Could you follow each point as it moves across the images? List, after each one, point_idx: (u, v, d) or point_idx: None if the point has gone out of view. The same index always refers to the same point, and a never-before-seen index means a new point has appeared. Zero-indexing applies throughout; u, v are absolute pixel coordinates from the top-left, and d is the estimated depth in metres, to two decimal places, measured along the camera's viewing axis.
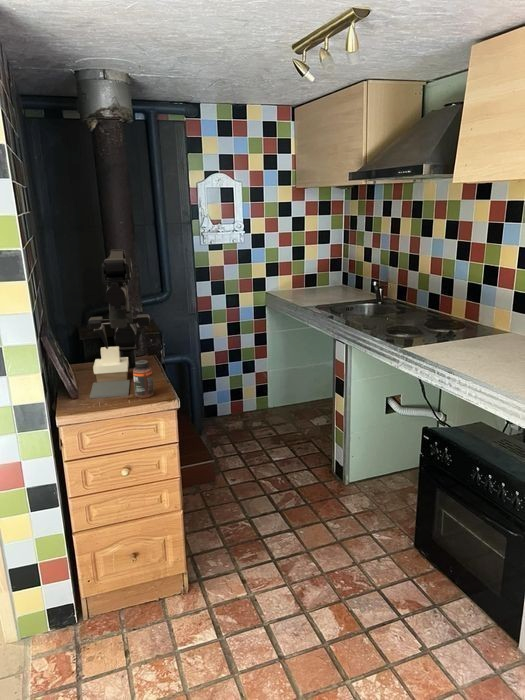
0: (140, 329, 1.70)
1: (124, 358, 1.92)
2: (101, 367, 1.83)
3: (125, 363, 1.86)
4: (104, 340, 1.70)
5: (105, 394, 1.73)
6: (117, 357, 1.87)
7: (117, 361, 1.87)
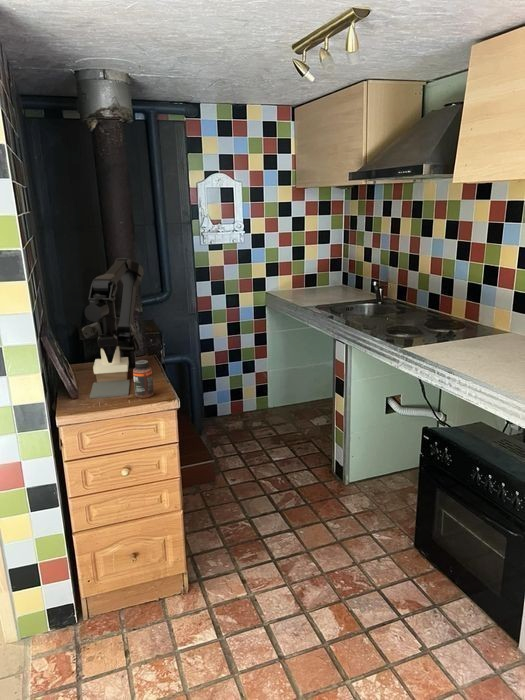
0: None
1: (124, 358, 1.92)
2: (101, 367, 1.83)
3: (125, 363, 1.86)
4: None
5: (105, 394, 1.73)
6: (117, 357, 1.87)
7: (117, 361, 1.87)
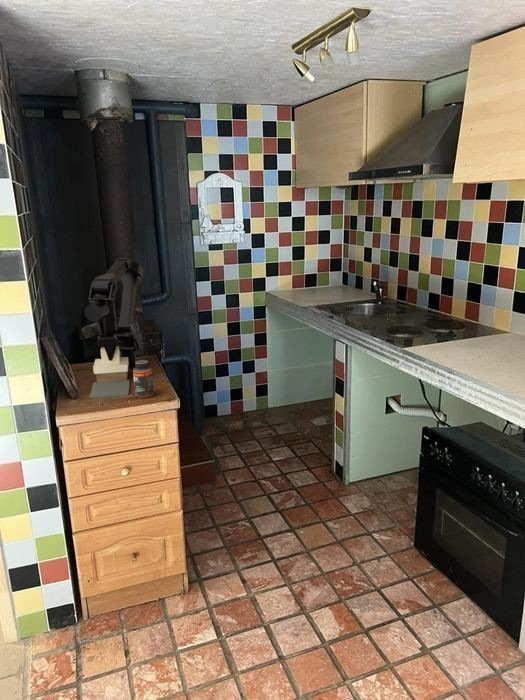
0: None
1: (124, 358, 1.92)
2: (101, 367, 1.83)
3: (125, 363, 1.86)
4: None
5: (105, 394, 1.73)
6: (117, 357, 1.87)
7: (117, 361, 1.87)
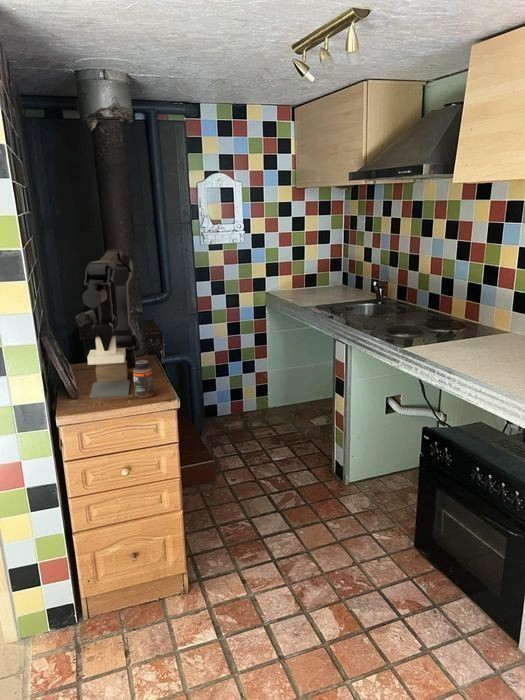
0: None
1: (121, 349, 1.80)
2: (96, 357, 1.71)
3: (121, 353, 1.74)
4: None
5: (105, 394, 1.73)
6: (113, 347, 1.75)
7: (113, 351, 1.75)
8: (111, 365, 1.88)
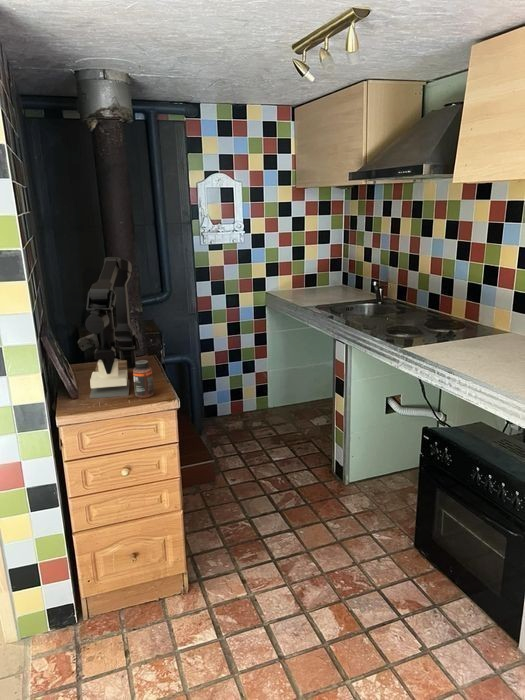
0: None
1: (123, 371, 1.81)
2: (98, 381, 1.72)
3: (124, 376, 1.75)
4: None
5: (105, 394, 1.73)
6: (115, 370, 1.76)
7: (115, 374, 1.76)
8: None
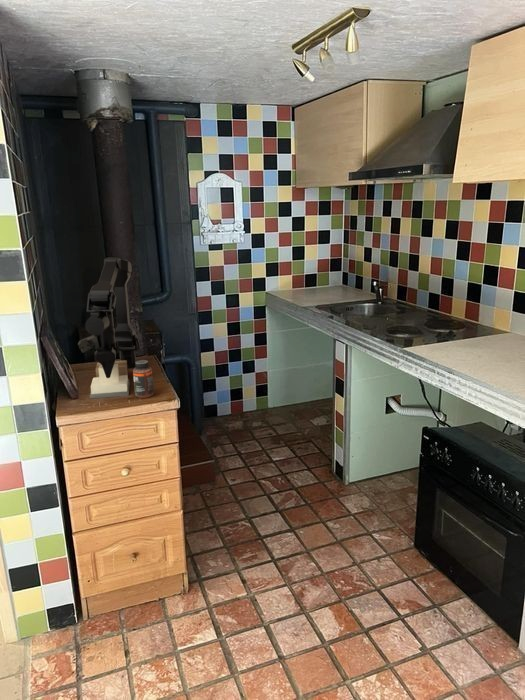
0: None
1: (124, 376, 1.81)
2: (99, 387, 1.73)
3: (124, 382, 1.76)
4: None
5: (105, 394, 1.73)
6: (116, 376, 1.76)
7: (116, 380, 1.77)
8: None
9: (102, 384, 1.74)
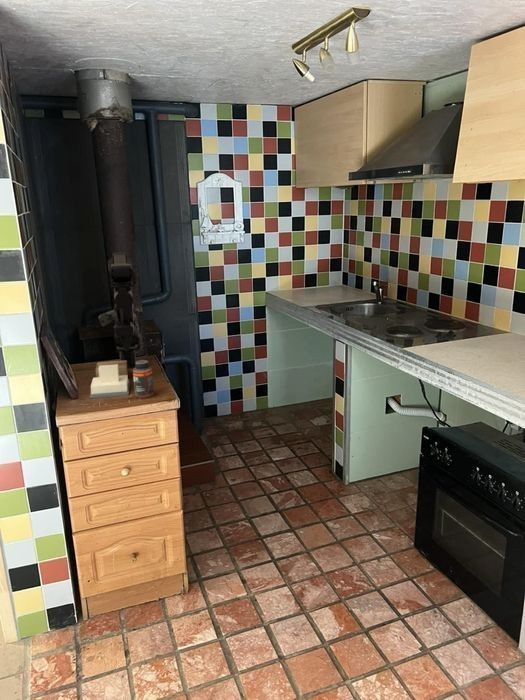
0: None
1: (124, 376, 1.81)
2: (99, 387, 1.73)
3: (124, 382, 1.76)
4: None
5: (105, 394, 1.73)
6: (116, 376, 1.76)
7: (116, 380, 1.77)
8: None
9: (102, 384, 1.74)
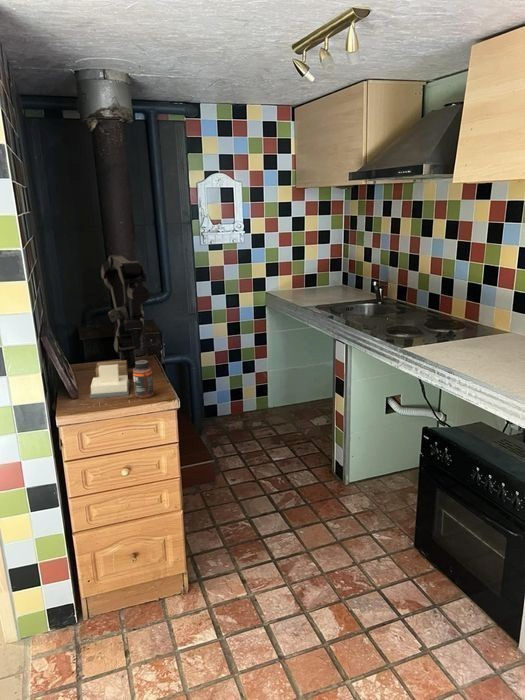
0: None
1: (124, 376, 1.81)
2: (99, 387, 1.73)
3: (124, 382, 1.76)
4: None
5: (105, 394, 1.73)
6: (116, 376, 1.76)
7: (116, 380, 1.77)
8: None
9: (102, 384, 1.74)
